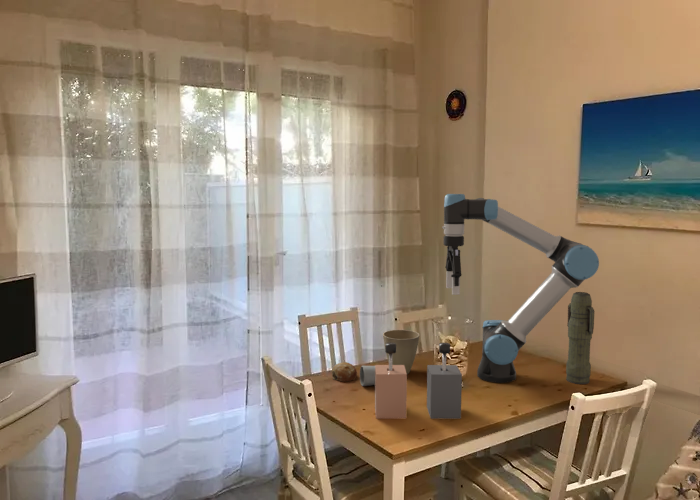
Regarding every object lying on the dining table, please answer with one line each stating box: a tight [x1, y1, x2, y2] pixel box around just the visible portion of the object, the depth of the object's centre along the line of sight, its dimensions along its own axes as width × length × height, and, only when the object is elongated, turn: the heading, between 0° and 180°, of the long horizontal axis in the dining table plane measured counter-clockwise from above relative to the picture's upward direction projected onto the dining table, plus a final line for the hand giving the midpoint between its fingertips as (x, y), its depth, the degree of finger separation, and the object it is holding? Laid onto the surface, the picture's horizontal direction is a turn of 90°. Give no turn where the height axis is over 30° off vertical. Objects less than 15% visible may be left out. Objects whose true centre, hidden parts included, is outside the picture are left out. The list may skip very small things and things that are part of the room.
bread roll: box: [331, 362, 358, 382], centre depth 232 cm, size 10×10×8 cm
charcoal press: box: [426, 364, 463, 420], centre depth 196 cm, size 10×12×15 cm
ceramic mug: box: [359, 365, 375, 387], centre depth 224 cm, size 11×8×8 cm
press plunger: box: [384, 342, 396, 371], centre depth 195 cm, size 8×8×22 cm
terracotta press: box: [374, 364, 408, 419], centre depth 196 cm, size 10×12×15 cm
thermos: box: [565, 291, 595, 385], centre depth 226 cm, size 9×12×35 cm
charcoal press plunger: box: [438, 342, 451, 371], centre depth 194 cm, size 8×8×22 cm
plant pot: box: [382, 329, 420, 375], centre depth 238 cm, size 15×15×16 cm
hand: (452, 291), depth 219 cm, fingers open, 13 cm apart
